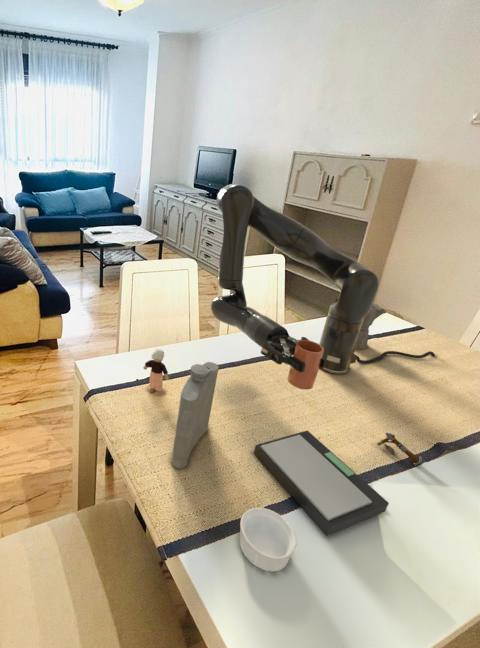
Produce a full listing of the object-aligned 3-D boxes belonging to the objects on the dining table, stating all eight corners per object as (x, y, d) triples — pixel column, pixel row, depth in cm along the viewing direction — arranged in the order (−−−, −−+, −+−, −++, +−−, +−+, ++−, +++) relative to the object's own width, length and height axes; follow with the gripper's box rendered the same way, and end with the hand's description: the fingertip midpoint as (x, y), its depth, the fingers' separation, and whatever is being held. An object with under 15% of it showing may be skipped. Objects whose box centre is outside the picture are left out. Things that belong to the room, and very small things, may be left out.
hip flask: (182, 471, 80) (195, 392, 72) (165, 462, 82) (175, 384, 74) (209, 426, 92) (222, 355, 85) (193, 419, 94) (204, 349, 87)
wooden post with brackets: (374, 438, 91) (389, 428, 88) (406, 466, 87) (423, 457, 85) (372, 442, 89) (387, 432, 87) (405, 471, 86) (422, 461, 83)
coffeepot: (376, 346, 135) (393, 299, 128) (368, 355, 128) (385, 306, 122) (330, 329, 145) (343, 285, 138) (321, 337, 138) (334, 291, 132)
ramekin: (261, 585, 60) (266, 567, 59) (225, 534, 68) (229, 516, 66) (302, 563, 64) (308, 546, 62) (264, 517, 71) (269, 500, 69)
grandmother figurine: (170, 390, 105) (175, 350, 100) (165, 398, 102) (170, 357, 97) (143, 381, 108) (147, 342, 103) (138, 389, 104) (142, 349, 100)
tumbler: (300, 373, 96) (309, 338, 92) (318, 387, 91) (329, 350, 87) (282, 377, 94) (291, 341, 90) (299, 391, 89) (310, 354, 85)
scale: (304, 438, 91) (307, 428, 90) (385, 511, 74) (390, 500, 72) (253, 453, 85) (256, 442, 84) (326, 536, 68) (331, 524, 67)
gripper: (245, 323, 99) (293, 357, 84) (289, 316, 104) (342, 348, 89) (240, 348, 102) (286, 385, 87) (283, 340, 106) (333, 375, 92)
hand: (314, 366), depth 88 cm, fingers closed on tumbler, 6 cm apart
